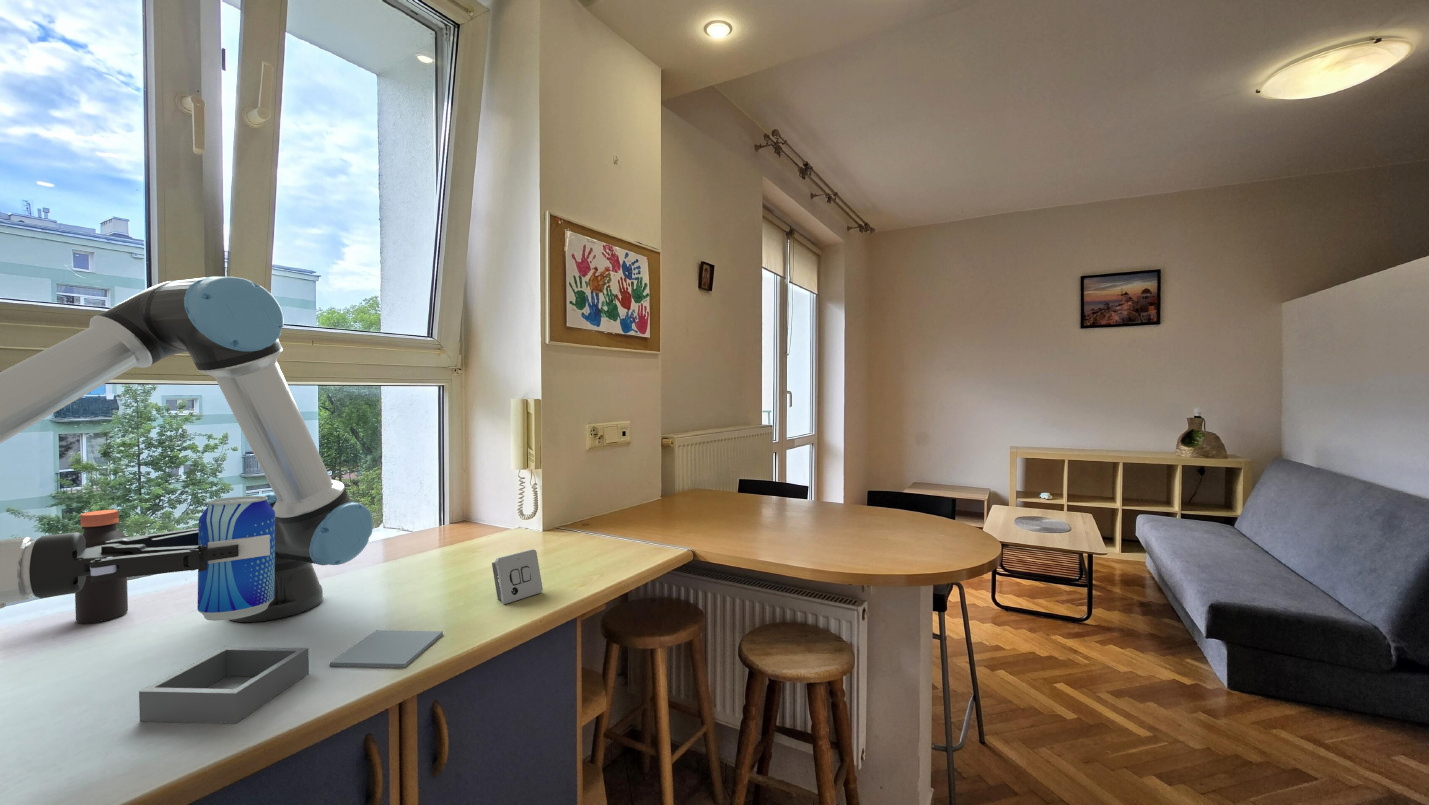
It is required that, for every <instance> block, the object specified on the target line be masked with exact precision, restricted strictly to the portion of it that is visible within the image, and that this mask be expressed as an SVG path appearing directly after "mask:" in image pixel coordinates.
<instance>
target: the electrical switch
mask: <svg viewBox="0 0 1429 805" xmlns="http://www.w3.org/2000/svg"><path fill="white" fill-rule="evenodd" d="M537 553H538V552H537V550H536V549H534V548H531V549H527V550H524V551H519V552H516V553H511V554H507V555H504V556H499V557H497V558H496V559H495V561H494V562H491V567H492V568H491V569H492V572H493V579H494V580H493V581H494V584H495V591H496V592H495V593H496V598H497V601H500V602H501V603H502V604H503V605H506V604H510V603H514V602H517V601H518V600H522V599H525V598H528V597H531V596H534V595H538V594H540V593H542V592H543V590H544V587H543V582H542V576H541V572H540V571H541V570H540V564H539V559H538V554H537Z"/></svg>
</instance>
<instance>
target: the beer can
mask: <svg viewBox="0 0 1429 805" xmlns="http://www.w3.org/2000/svg"><path fill="white" fill-rule="evenodd" d="M207 504H208V505H207V507H206V508H205V509H204V510H203V512H202V514H201V515H200V516H199V518H198V528H199V534H198V545H207V548H208V542H215V541H223V540H231V539H239V538H247V537H255V536H263V535H270V555H267V556H260V557H253V558H246V559H239V560H232V561H225V562H218V563H210V564H208V561H207V570H205V571H201V572H198V571H197V611H198V612H199V613H200V614H201V615H203V617H204V619H205V620H207V621H213V622H214V621H215V622H216V621H218V622H219V621H230V620H231V621H232V619H238V618H243V617H247V616H251V615H254V614H257V613H260V612H262V611H264V610H266V609H267V608H268V605H269V603H270V602H271V601H272V600H273V599H274V579H275V511H274V510H273V508H272V507H271V506H270V504H269V503H268V502H267V497H265V496H252V495H249V496H248V495H247V496H246V495H244V496H232V497H222V498H215V499H210V500H209V501H207Z"/></svg>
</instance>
